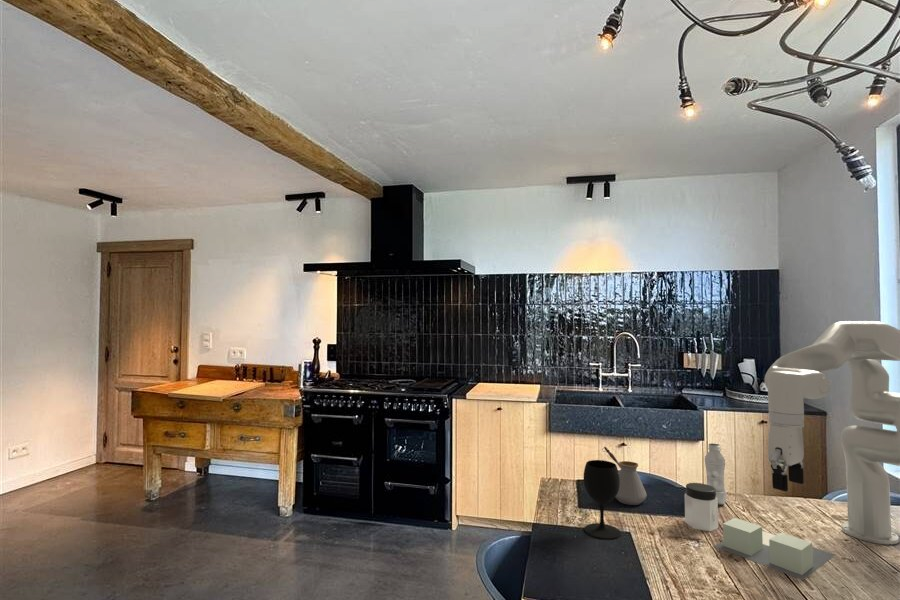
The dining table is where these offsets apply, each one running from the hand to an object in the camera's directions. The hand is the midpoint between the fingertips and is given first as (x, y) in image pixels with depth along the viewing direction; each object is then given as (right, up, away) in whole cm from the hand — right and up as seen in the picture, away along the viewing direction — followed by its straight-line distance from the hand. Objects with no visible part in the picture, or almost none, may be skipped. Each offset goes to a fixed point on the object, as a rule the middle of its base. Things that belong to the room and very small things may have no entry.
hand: (788, 485), depth 121 cm
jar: (-10, -22, +23) cm, 33 cm away
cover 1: (-6, -20, +8) cm, 23 cm away
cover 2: (0, -20, -1) cm, 20 cm away
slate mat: (+1, -21, +7) cm, 22 cm away
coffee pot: (-25, -23, +49) cm, 60 cm away
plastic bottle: (+5, -23, +41) cm, 48 cm away
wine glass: (-42, -22, +19) cm, 51 cm away
